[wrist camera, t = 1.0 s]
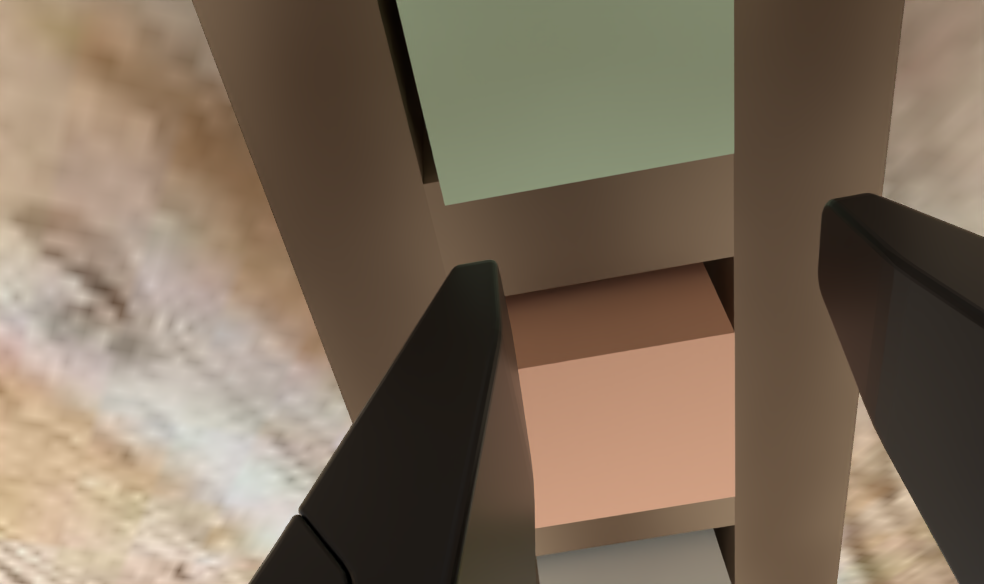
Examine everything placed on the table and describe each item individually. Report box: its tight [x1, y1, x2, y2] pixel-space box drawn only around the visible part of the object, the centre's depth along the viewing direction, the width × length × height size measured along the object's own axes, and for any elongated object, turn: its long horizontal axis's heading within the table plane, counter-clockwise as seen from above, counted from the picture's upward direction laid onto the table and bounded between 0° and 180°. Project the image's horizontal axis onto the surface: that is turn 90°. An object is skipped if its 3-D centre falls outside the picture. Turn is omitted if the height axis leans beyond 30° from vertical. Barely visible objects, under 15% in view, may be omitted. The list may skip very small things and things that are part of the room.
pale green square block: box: [396, 0, 734, 206], centre depth 14 cm, size 5×5×3 cm
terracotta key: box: [505, 262, 735, 528], centre depth 20 cm, size 5×5×3 cm
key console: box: [192, 0, 905, 584], centre depth 22 cm, size 12×28×4 cm, turn 10°
